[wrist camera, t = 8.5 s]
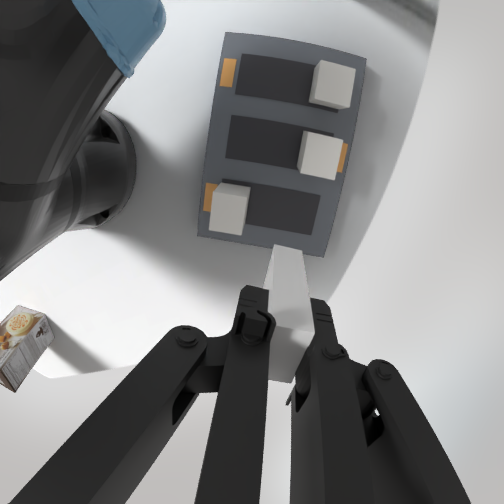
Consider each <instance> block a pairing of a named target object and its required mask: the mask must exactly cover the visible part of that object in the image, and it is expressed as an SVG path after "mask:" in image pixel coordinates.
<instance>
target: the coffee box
mask: <svg viewBox="0 0 504 504" xmlns="http://www.w3.org/2000/svg"><path fill="white" fill-rule="evenodd" d="M53 339H54V335H53V333H52V330H51V328H50V326H49V323H48V321H47V318H46V316H45V314H43V313H40V312H37V311H34V310H30V309H27V308H24V307H21V306H16V307H15V308H14V309H13V311H12V312H11V313H10V314H9V315H8V316H7V317H6V318H5V319H4V320H3V321H2V322H1V323H0V384H1V385H3V386H5V387H6V388H8V389H9V390H11V391H13V392H14V393H15V392H16V391H17V389H18V388H19V386H20V385H21V383H22V382H23V380H24V379H25V378H26V376H27V375H28V373H29V372H30V370H31V369H32V368H33V366H34V365H35V363H36V362H37V361H38V359H39V358H40V356H41V355H42V354H43V352H44V351H45V350H46V348H47V347H48V346H49V344H50V343H51V342H52V341H53Z"/></svg>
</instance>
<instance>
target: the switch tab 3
mask: <svg viewBox="0 0 504 504" xmlns="http://www.w3.org/2000/svg"><path fill="white" fill-rule="evenodd" d="M342 144H343V140H342V139H338V138H334V137H330V136H325V135H321V134H317V133H312V132H307V131H303V136H302V141H301V146H300V152H299V157H298V162H297V168H298V170H299V171H300V173H302V174H307V175H312V176H317V177H322V178H326V179H331V180H335V176H336V172H337V167H338V163H339V158H340V154H341V149H342Z"/></svg>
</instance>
